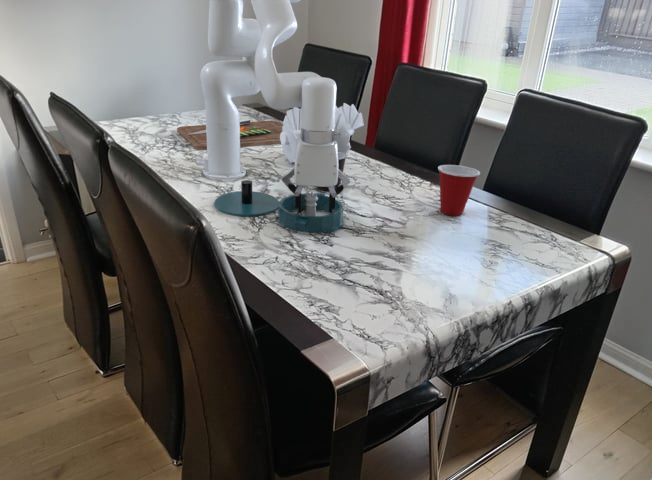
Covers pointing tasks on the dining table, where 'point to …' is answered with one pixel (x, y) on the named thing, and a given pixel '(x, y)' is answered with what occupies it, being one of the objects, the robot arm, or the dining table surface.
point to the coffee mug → (340, 166)
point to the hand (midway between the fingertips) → (314, 210)
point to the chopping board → (248, 134)
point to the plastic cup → (455, 187)
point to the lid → (246, 202)
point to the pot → (310, 222)
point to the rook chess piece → (310, 204)
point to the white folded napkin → (344, 123)
